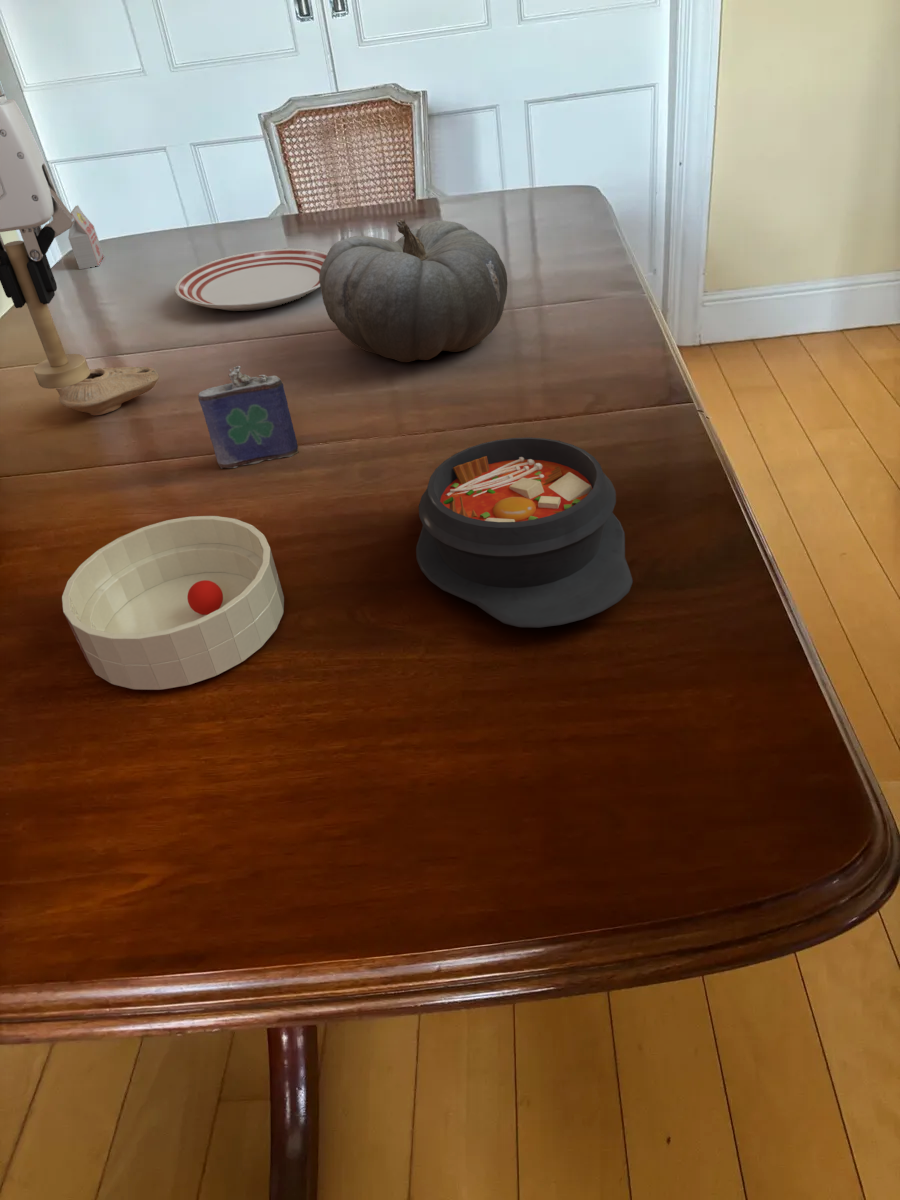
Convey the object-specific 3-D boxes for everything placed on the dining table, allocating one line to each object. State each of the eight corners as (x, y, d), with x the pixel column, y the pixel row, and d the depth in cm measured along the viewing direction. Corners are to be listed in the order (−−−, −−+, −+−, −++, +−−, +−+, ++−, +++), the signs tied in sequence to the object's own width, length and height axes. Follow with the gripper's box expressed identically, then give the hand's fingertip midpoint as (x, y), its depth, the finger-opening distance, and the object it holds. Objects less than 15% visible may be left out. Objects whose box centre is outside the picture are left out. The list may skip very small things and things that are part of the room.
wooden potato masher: (33, 392, 91) (-22, 254, 83) (45, 372, 95) (-7, 239, 87) (85, 384, 91) (35, 246, 83) (94, 365, 95) (47, 232, 87)
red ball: (191, 624, 78) (181, 596, 76) (194, 603, 80) (185, 576, 78) (225, 618, 78) (216, 591, 76) (228, 597, 80) (219, 570, 78)
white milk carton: (79, 269, 174) (60, 215, 168) (85, 259, 179) (67, 206, 173) (98, 266, 174) (80, 212, 168) (104, 256, 179) (86, 203, 173)
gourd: (285, 338, 124) (282, 205, 114) (415, 309, 139) (422, 189, 129) (409, 397, 110) (418, 251, 100) (538, 358, 126) (556, 228, 116)
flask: (218, 471, 101) (192, 382, 94) (218, 459, 103) (192, 371, 97) (300, 455, 102) (279, 365, 95) (298, 444, 104) (277, 356, 98)
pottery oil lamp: (167, 403, 116) (131, 369, 110) (91, 445, 118) (52, 414, 112) (159, 359, 121) (124, 323, 115) (85, 400, 123) (48, 367, 117)
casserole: (383, 520, 89) (369, 444, 84) (554, 471, 93) (550, 396, 87) (475, 673, 69) (465, 587, 64) (685, 603, 73) (691, 517, 68)
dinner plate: (361, 260, 158) (358, 241, 156) (316, 319, 137) (312, 297, 135) (217, 269, 163) (212, 250, 161) (152, 326, 142) (146, 306, 140)
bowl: (69, 711, 71) (39, 654, 68) (107, 585, 85) (84, 533, 81) (283, 675, 72) (266, 617, 68) (287, 556, 85) (272, 502, 82)
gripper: (-156, 108, 74) (-58, 326, 85) (38, 83, 75) (110, 302, 86) (-122, 95, 80) (-35, 300, 91) (57, 72, 81) (122, 278, 92)
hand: (35, 300), depth 88 cm, fingers closed on wooden potato masher
